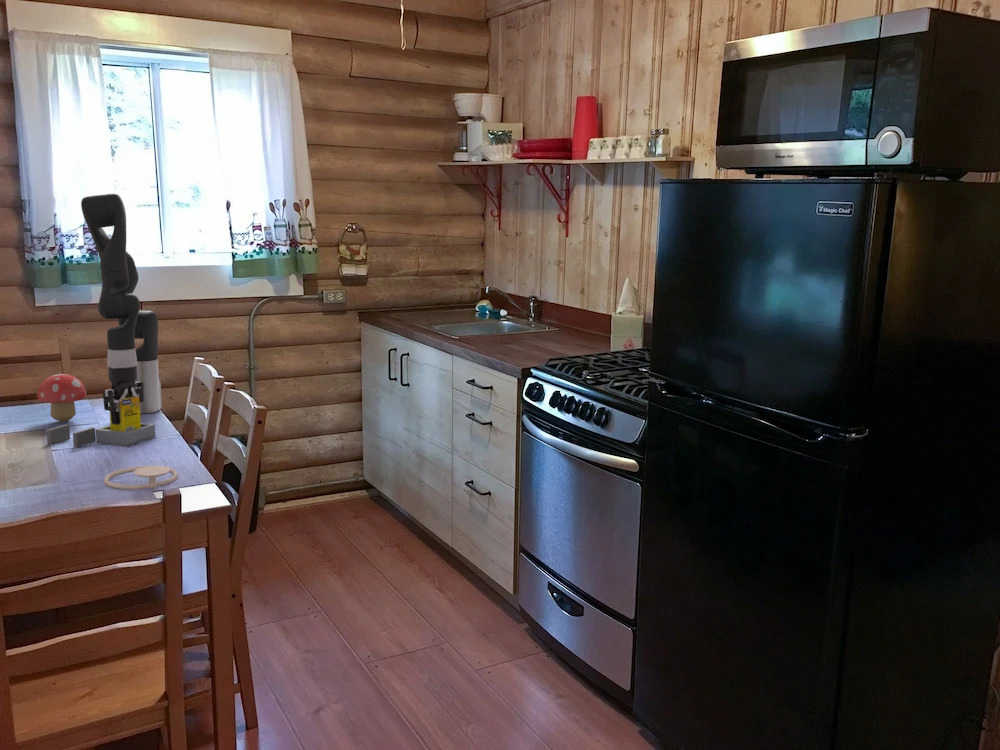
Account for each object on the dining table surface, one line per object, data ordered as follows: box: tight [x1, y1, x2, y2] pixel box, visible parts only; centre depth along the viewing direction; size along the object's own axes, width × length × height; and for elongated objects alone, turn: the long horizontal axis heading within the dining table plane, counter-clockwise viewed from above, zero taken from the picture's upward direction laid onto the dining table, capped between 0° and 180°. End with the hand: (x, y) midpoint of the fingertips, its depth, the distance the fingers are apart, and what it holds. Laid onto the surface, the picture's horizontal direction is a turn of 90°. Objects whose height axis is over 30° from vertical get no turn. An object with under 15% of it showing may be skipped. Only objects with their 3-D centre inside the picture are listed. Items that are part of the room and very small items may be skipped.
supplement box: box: [108, 396, 142, 432], centre depth 235 cm, size 6×6×11 cm
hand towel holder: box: [103, 465, 179, 490], centre depth 202 cm, size 17×4×21 cm
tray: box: [95, 422, 156, 448], centre depth 236 cm, size 11×11×4 cm
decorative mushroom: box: [36, 373, 87, 423], centre depth 253 cm, size 13×13×15 cm
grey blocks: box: [46, 423, 96, 448], centre depth 232 cm, size 7×10×4 cm
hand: (125, 421), depth 236 cm, fingers closed on supplement box, 7 cm apart
